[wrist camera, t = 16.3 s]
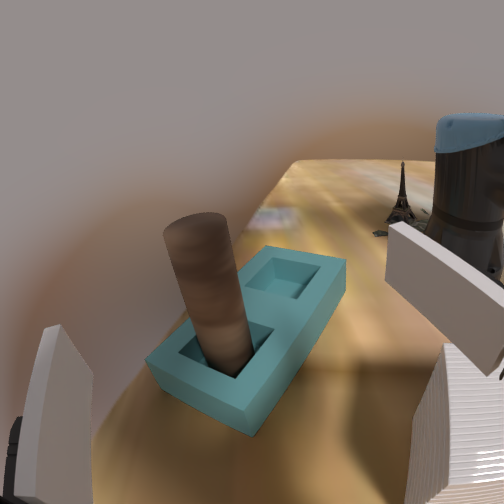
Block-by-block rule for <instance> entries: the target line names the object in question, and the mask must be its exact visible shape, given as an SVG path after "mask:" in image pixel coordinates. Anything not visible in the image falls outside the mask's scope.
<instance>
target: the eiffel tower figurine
mask: <svg viewBox="0 0 504 504" xmlns="http://www.w3.org/2000/svg"><path fill="white" fill-rule="evenodd" d="M404 165H405V164H404V162H402V163H401V166H402V168H401V182H400V190H399V195H398V199H397V202H396V205H395V206H394V207H393V211H392V213H391V214H390V216H389V217H388V219H387V220H386V221H385V222H384V223H388V224H395V223H398V222H401V221H403V222H404V223H406V224H408V225H409V226H411V227H413V228H414V229H416V230H418V231H419V232H420V231H424V230H425V228H426V225H427V223H428V221H429V220H420V221H416V220H417V218H416V217H415V215H414V214H413V212H412V211H411V209H410V206H409V205H408V201H407V195H406V191H405V174H404ZM401 203H402V204H401ZM421 210H422V211H423V212H424V213H426V214H427V215H429V214H428V213H427V212H426V211H425V210H424V209H421ZM408 215H410V216H411V217H409V216H408ZM415 221H416V222H415ZM372 233H373V234H374V235H375V237H377V236H385V235H388V232H385V231H380V230H378V231H375V232H372Z"/></svg>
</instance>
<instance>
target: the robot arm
mask: <svg viewBox="0 0 504 504" xmlns="http://www.w3.org/2000/svg"><path fill="white" fill-rule="evenodd" d="M434 151H435V152H436V162H435V181H434V195H433V208H432V214H431V216H430V219H429V221H428V223H427V225H426V228H425V230H424V232H423V234H422V233H421V232H419V231H418V230H416V229H414V228H413V227H411V226H409V225H408V224H406V223H404V222H403V221H401V222H398V223H395V224H392V225H389V230H388V247H387V261H386V273H385V281H386V282H387V283H388V284H389V285H390V286H392V287H393V288H394V289H395V290H396V291H397V292H398V293H399V294H401V295H402V296H403V297H404V298H405V299H406V300H407V301H408V302H409V303H410V304H412V305H413V306H414V307H415V308H416V309H417V310H418V311H419V312H420V313H421V314H422V315H424V316H425V317H426V318H427V319H428V320H429V321H430V322H431V323H432V324H433V325H434V326H435V327H436V328H437V329H438V330H440V331H441V332H442V333H443V334H444V335H445V336H446V337H447V338H448V339H449V340H450V341H451V342H452V343H453V344H454V345H455V346H456V347H457V348H458V349H459V350H460V351H461V352H462V353H463V354H464V355H465V356H466V357H467V358H468V359H469V360H470V361H471V362H472V363H473V364H474V365H475V366H476V367H477V368H478V369H479V370H480V371H481V372H482V373H483V374H484V375H485V376H486V377H488V376H489V375H490V374H491V373H492V372H493V371H494V370H496V369H497V368H498V367H499V365H500V364H501V362H502V360H503V358H504V285H503V283H502V282H500V281H499V280H500V278H501V274H502V271H503V267H504V249H503V235H502V226H503V220H504V115H497V114H487V113H460V114H451V115H447V116H444V117H442V118H441V119H440V120H439V121H438V123H437V127H436V144H435V147H434ZM503 377H504V368H503V370H502V372H501V374H500V376H499V380H502V379H503ZM92 387H93V372H92V371H91V370H90V368H89V367H88V366H87V364H86V362H85V361H84V360H83V358H82V357H81V355H80V354H79V352H78V351H77V349H76V348H75V346H74V345H73V343H72V342H71V340H70V338H69V337H68V335H67V334H66V332H65V330H64V329H63V327H62V326H61V324H59V325H56V326H52V327H49V328H45V329H44V332H43V335H42V339H41V342H40V345H39V349H38V353H37V356H36V360H35V364H34V368H33V372H32V376H31V380H30V384H29V389H28V393H27V398H26V403H25V408H24V414H23V416H21V417H17V418H16V420H15V422H14V424H13V426H12V428H11V431H10V437H9V446H8V450H7V455H8V457H6V466H5V475H4V486H3V497H2V496H0V504H93V493H92V475H91V405H92Z"/></svg>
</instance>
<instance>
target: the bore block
mask: <svg viewBox="0 0 504 504" xmlns="http://www.w3.org/2000/svg"><path fill="white" fill-rule="evenodd" d="M237 274H238V278H239V283H240V288H241V292H242V297H243V302H244V306H245V311H246V315H247V320H248V325H249V329H250V334H251V338H252V343H253V347H254V351H255V355H254V357H253V358H252V359H251V360H250V362H249V363H248V364H247V365H246V367H245V368H244V369H243V370H242V372H241V373H240V374H239V375H238V377H237V378H236V379H234V378H232V377H229V376H227V375H225V374H222V373H220V372H218V371H216V370H213V369H211V368H209V367H208V364H207V362H206V359H205V356H204V354H203V351H202V349H201V346H200V343H199V341H198V338H197V335H196V333H195V330H194V327H193V324H192V322H191V319H190V317H189V318H188V319H187V320H186V321H185V322H184V323H183V324H182V325H181V326H180V327H179V328H178V329H177V330H175V331H174V332H173V333H172V334H171V335H170V336H169V337H168V338H167V339H166V340H165V341H164V342H163V343H162V344H161V345H159V346H158V347H157V348H156V349H155V350H154V351H153V352H152V353H151V354H150V355H149V356H148V357H147V358H146V359H145V361H146V363H147V365H148V367H149V368H150V370H151V372H152V374H153V376H154V377H155V379H156V381H157V383H158V384H159V386H160V388H161V389H162V390H164V391H166V392H167V393H169V394H171V395H172V396H174V397H176V398H177V399H179V400H181V401H183V402H184V403H186V404H188V405H190V406H191V407H193V408H195V409H197V410H199V411H200V412H202V413H204V414H206V415H208V416H210V417H212V418H214V419H216V420H217V421H219V422H221V423H223V424H225V425H227V426H229V427H231V428H233V429H235V430H238V431H240V432H242V433H244V434H246V435H248V436H250V437H252V438H253V437H254V435H255V434H256V432H257V431H258V430H259V428H260V427H261V425H262V424H263V423H264V421H265V420H266V418H267V417H268V415H269V414H270V413H271V411H272V410H273V408H274V407H275V405H276V404H277V402H278V401H279V399H280V398H281V396H282V395H283V393H284V392H285V390H286V389H287V387H288V386H289V384H290V383H291V381H292V380H293V378H294V377H295V375H296V373H297V372H298V370H299V369H300V367H301V366H302V364H303V362H304V361H305V359H306V358H307V356H308V354H309V353H310V351H311V350H312V348H313V346H314V345H315V343H316V341H317V340H318V338H319V336H320V335H321V333H322V331H323V330H324V328H325V326H326V324H327V323H328V321H329V319H330V317H331V316H332V314H333V312H334V310H335V309H336V307H337V305H338V303H339V302H340V300H341V298H342V296H343V294H344V293H345V291H346V259H341V258H335V257H330V256H324V255H318V254H312V253H307V252H301V251H295V250H289V249H283V248H278V247H272V246H265V247H264V248H263V249H262V250H261V251H259V252H258V253H257V254H256V255H255V256H254V257H253V258H252V259H251V260H250V261H249V262H248V263H247V264H246V265H245V266H244V267H242V268H241V269H240V270H239V271H238V272H237Z"/></svg>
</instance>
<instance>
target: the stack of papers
mask: <svg viewBox="0 0 504 504" xmlns="http://www.w3.org/2000/svg"><path fill="white" fill-rule="evenodd" d="M437 360H438V362H436V365H435V367H434V370H433V372H432V375H431V377H430V380H429V382H428V385H427V387H426V391H425V392H424V394H423V397H422V399H421V401H420V403H419V405H418V407H417V410H416V412H415V414H414V416H413V420H412V437H411V450H410V460H409V470H408V478H407V485H406V493H405V499H404V504H504V377H503V379H502V380H499V376H500V374H501V372H502V370H503V368H504V358H503V360H502V362H501V364H500V365H499V367H498V368H497V369H496V370H494V371H493V372H492V373H491V374H490V375H489V376H488V377H486V376H485V375H484V374H483V373H482V372H481V371H480V370H479V369H478V368H477V367H476V366H475V365H474V364H473V363H472V362H471V361H470V360H469V359H468V358H467V357H466V356H465V355H464V354H463V353H462V352H461V351H460V350H459V349H458V348H457V347H456V346H455V345H454V344H453V343H443V346H442V348H441V353H440V354H439V357H438V359H437Z"/></svg>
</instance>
